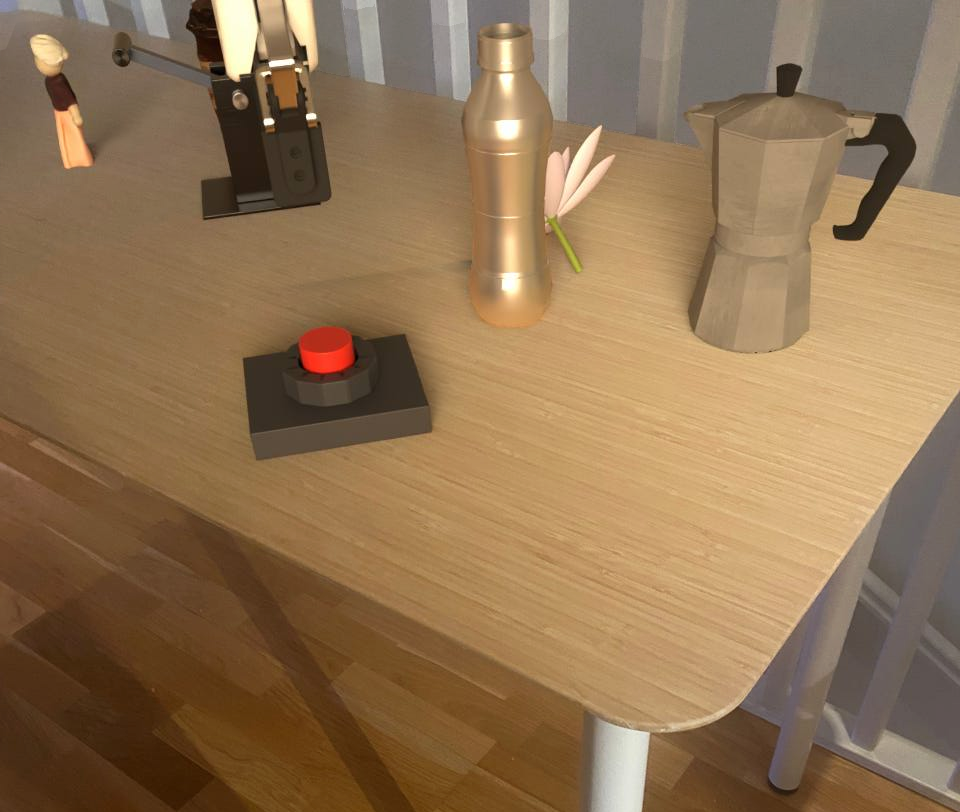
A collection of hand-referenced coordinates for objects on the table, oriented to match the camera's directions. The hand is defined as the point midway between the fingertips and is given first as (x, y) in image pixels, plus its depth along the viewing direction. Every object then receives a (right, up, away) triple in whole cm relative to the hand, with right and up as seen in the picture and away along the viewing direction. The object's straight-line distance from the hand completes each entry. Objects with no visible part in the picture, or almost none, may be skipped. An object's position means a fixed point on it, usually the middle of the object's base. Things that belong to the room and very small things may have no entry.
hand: (296, 170), depth 58 cm
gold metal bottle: (+13, -2, +20) cm, 24 cm away
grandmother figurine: (-31, +21, +45) cm, 59 cm away
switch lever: (-15, +21, +29) cm, 39 cm away
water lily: (+16, +5, +27) cm, 32 cm away
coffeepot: (+33, -4, +17) cm, 37 cm away
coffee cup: (-14, +27, +50) cm, 58 cm away
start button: (+1, -9, +9) cm, 13 cm away
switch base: (+1, -11, +12) cm, 16 cm away
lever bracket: (-10, +15, +37) cm, 41 cm away
